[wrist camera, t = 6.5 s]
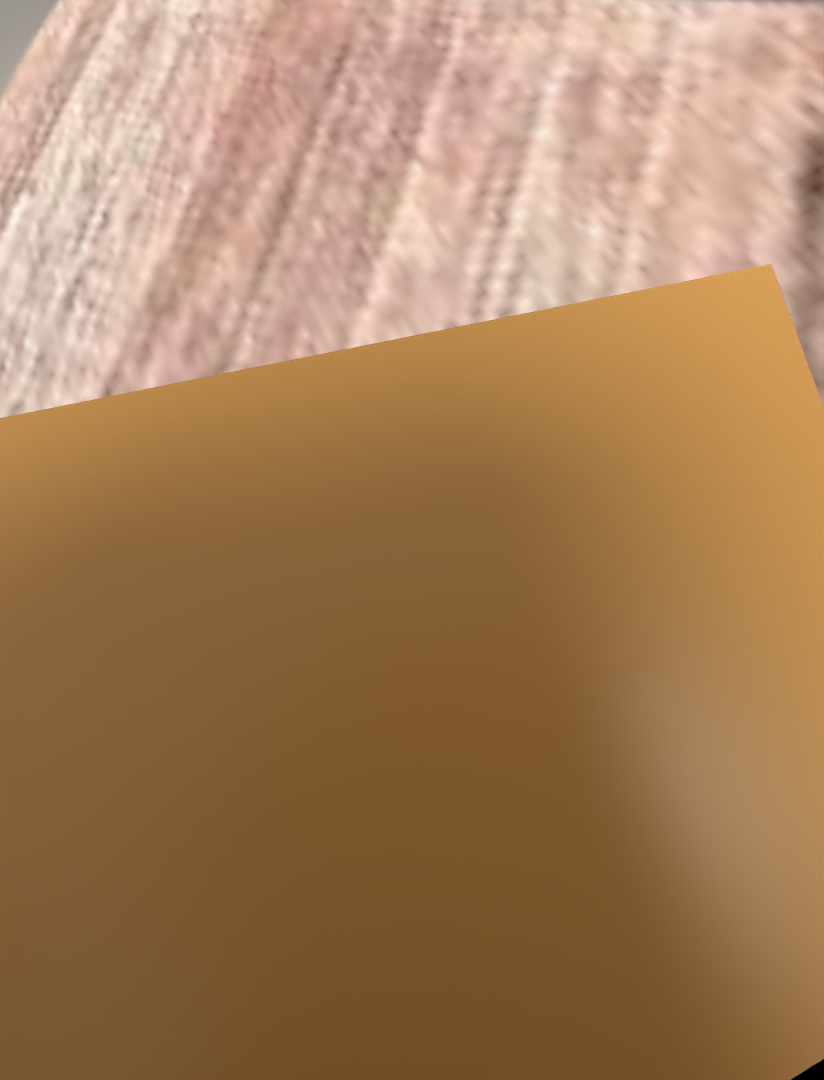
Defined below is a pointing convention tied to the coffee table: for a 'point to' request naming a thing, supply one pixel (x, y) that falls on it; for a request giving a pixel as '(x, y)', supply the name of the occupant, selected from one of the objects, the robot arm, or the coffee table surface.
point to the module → (424, 709)
